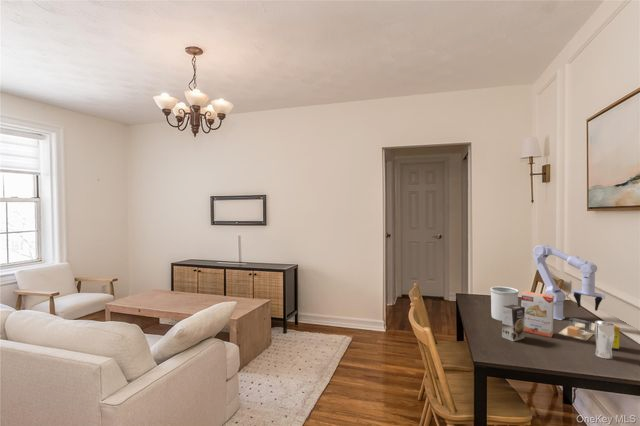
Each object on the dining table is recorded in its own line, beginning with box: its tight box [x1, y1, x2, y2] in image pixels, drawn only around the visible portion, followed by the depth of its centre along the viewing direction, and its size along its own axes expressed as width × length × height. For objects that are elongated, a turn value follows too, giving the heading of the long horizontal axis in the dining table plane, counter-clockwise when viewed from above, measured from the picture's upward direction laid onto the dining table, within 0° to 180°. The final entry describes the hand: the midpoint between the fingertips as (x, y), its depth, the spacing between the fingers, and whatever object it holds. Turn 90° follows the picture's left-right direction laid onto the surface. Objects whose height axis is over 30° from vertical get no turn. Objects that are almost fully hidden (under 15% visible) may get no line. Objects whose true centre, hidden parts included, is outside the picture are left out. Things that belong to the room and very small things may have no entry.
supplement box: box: [612, 324, 620, 351], centre depth 161 cm, size 6×6×11 cm
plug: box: [567, 325, 580, 337], centre depth 178 cm, size 11×4×3 cm, turn 129°
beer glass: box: [594, 320, 615, 360], centre depth 151 cm, size 7×7×15 cm
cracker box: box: [520, 290, 554, 338], centre depth 178 cm, size 14×6×21 cm, turn 50°
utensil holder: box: [490, 285, 519, 322], centre depth 201 cm, size 15×15×18 cm
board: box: [557, 322, 595, 342], centre depth 183 cm, size 12×34×1 cm, turn 129°
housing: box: [568, 317, 592, 332], centre depth 183 cm, size 9×4×5 cm, turn 39°
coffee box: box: [501, 304, 525, 342], centre depth 171 cm, size 9×6×16 cm
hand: (587, 308), depth 189 cm, fingers open, 7 cm apart
